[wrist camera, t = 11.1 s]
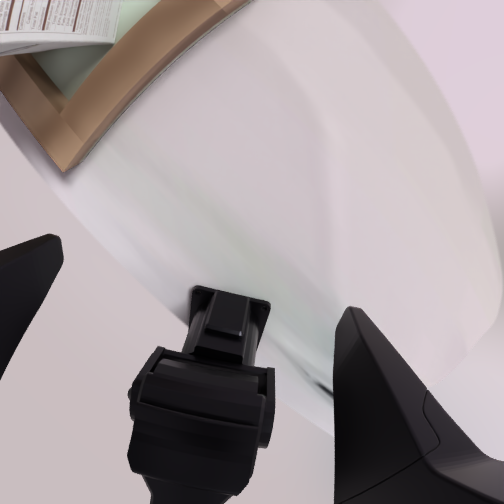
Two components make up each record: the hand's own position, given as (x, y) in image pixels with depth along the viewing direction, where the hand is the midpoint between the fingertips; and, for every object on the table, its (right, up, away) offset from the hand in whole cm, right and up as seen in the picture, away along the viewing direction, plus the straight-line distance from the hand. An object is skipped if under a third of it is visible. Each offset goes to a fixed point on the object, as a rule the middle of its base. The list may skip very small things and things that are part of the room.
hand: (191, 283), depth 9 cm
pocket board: (-10, +18, +5) cm, 22 cm away
